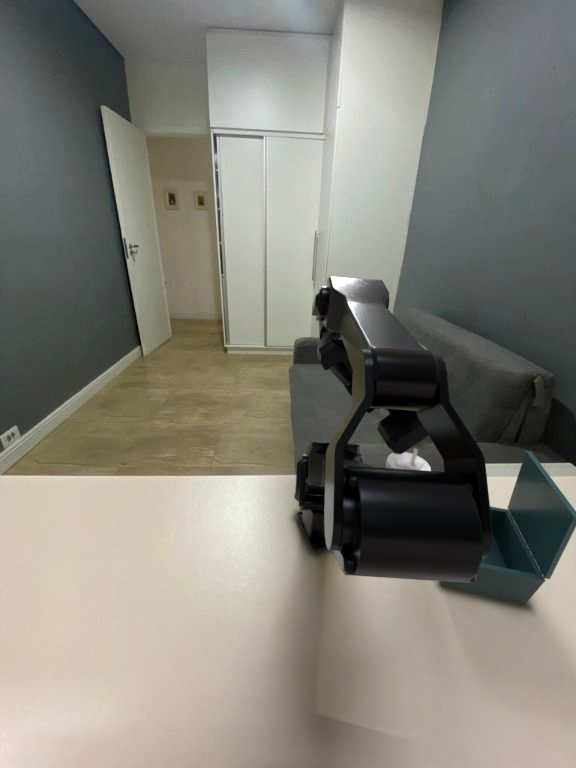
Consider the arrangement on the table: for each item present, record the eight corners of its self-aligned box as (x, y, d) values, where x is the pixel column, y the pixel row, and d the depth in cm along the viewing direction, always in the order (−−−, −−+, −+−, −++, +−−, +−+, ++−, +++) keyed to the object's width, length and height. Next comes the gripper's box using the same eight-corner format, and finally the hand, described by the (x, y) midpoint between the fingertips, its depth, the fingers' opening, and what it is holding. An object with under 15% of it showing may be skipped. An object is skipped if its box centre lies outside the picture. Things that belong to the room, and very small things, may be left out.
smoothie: (425, 527, 48) (448, 452, 42) (385, 529, 47) (403, 453, 41) (406, 497, 53) (424, 427, 48) (370, 498, 53) (384, 428, 47)
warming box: (440, 586, 40) (454, 561, 38) (425, 520, 49) (435, 496, 46) (525, 605, 39) (545, 580, 36) (493, 533, 48) (508, 509, 45)
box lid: (574, 517, 31) (581, 517, 31) (525, 450, 40) (531, 450, 40) (544, 578, 36) (550, 579, 36) (507, 507, 45) (511, 508, 45)
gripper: (446, 355, 32) (499, 435, 39) (376, 305, 48) (422, 368, 55) (360, 420, 34) (424, 483, 41) (321, 352, 50) (372, 406, 57)
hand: (409, 427), depth 49 cm, fingers open, 9 cm apart
